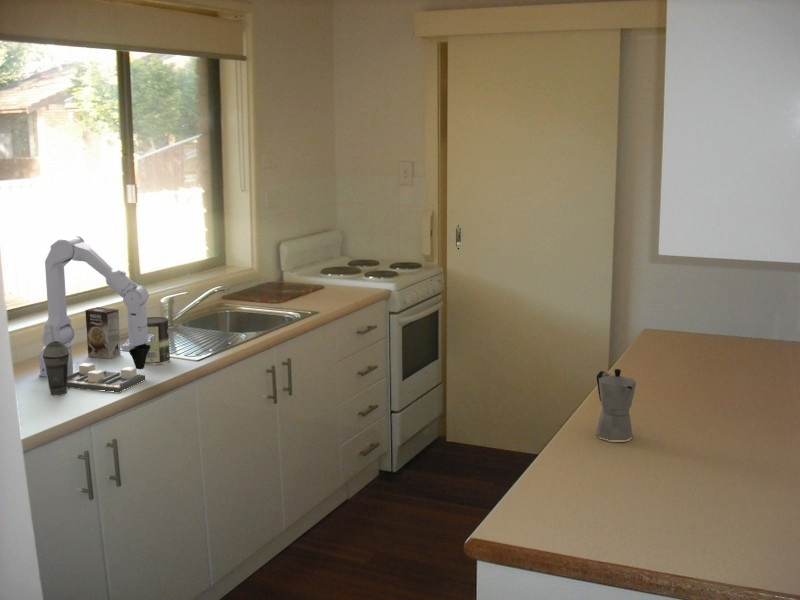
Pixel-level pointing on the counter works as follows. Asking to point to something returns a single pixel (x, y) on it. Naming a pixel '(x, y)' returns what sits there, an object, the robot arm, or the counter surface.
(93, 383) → the switch panel
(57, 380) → the beverage cup
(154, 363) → the coffee can
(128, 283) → the robot arm
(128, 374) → the tab right
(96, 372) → the tab middle
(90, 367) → the tab left
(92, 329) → the coffee box
